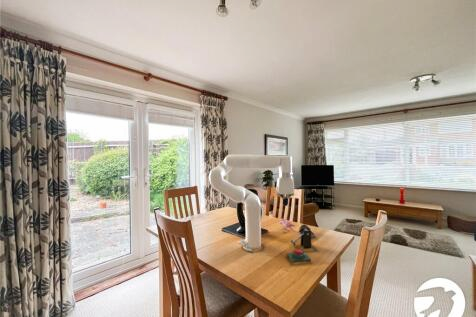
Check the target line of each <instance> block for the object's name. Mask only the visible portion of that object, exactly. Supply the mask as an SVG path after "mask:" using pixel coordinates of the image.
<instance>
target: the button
mask: <svg viewBox="0 0 476 317" xmlns="http://www.w3.org/2000/svg"><path fill="white" fill-rule="evenodd" d="M294 250H295V254H297V255H301V254H302V251H303V249H300V248H295V249H294Z"/></svg>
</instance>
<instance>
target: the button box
mask: <svg viewBox="0 0 476 317" xmlns="http://www.w3.org/2000/svg"><path fill="white" fill-rule="evenodd" d="M286 256H287V257H288V259H289V260H290V261H291V263H302V262H303V263H304V262H312V260H311V258H310V256H308V254H307V253H306V252H305V251H303V250H302V254H301V255H297V254H295V249H294V250H292V251H291V252H288V253H286Z"/></svg>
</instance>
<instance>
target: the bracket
mask: <svg viewBox="0 0 476 317" xmlns="http://www.w3.org/2000/svg"><path fill="white" fill-rule="evenodd" d="M305 229H307V230H305ZM302 231H303V232H302ZM311 231H312V230H308V228H301V232H300V235H301V234H302V233H303V237H301V238H300V246H302V247H303V249H305V250H307V249H312V238H311V235H312V233H311Z"/></svg>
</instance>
